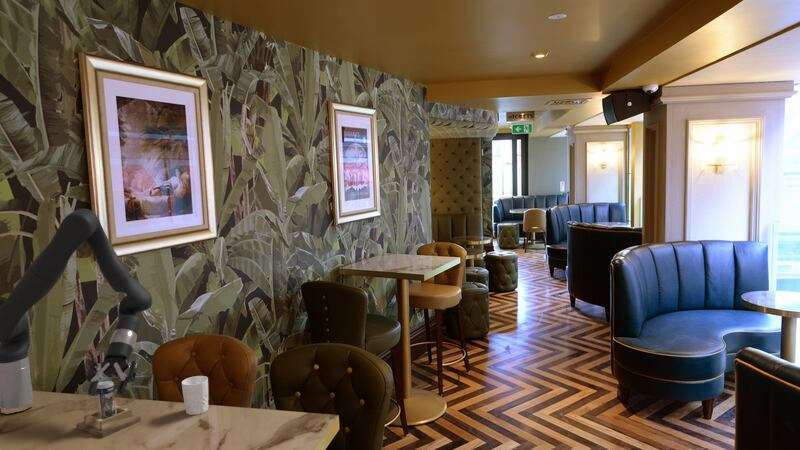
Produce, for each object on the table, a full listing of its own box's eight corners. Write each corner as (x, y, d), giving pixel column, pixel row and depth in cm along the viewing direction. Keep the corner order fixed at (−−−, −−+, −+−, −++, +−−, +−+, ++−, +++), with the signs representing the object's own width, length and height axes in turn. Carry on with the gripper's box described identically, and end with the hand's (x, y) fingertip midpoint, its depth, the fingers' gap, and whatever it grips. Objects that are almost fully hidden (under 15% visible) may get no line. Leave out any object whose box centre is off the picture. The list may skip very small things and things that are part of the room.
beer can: (104, 425, 165) (100, 386, 164) (97, 421, 168) (93, 383, 167) (120, 419, 169) (116, 381, 168) (113, 415, 172) (109, 378, 171)
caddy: (76, 428, 167) (75, 416, 167) (114, 412, 177) (113, 401, 177) (103, 437, 160) (102, 425, 159) (140, 420, 170) (139, 409, 170)
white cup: (182, 417, 171) (180, 386, 170) (185, 407, 179) (183, 377, 178) (209, 413, 173) (207, 382, 172) (211, 403, 181) (208, 374, 180)
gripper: (94, 341, 175) (76, 390, 164) (138, 340, 175) (122, 389, 164) (105, 352, 181) (88, 400, 170) (147, 350, 180) (133, 398, 170)
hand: (105, 394), depth 167 cm, fingers open, 8 cm apart
